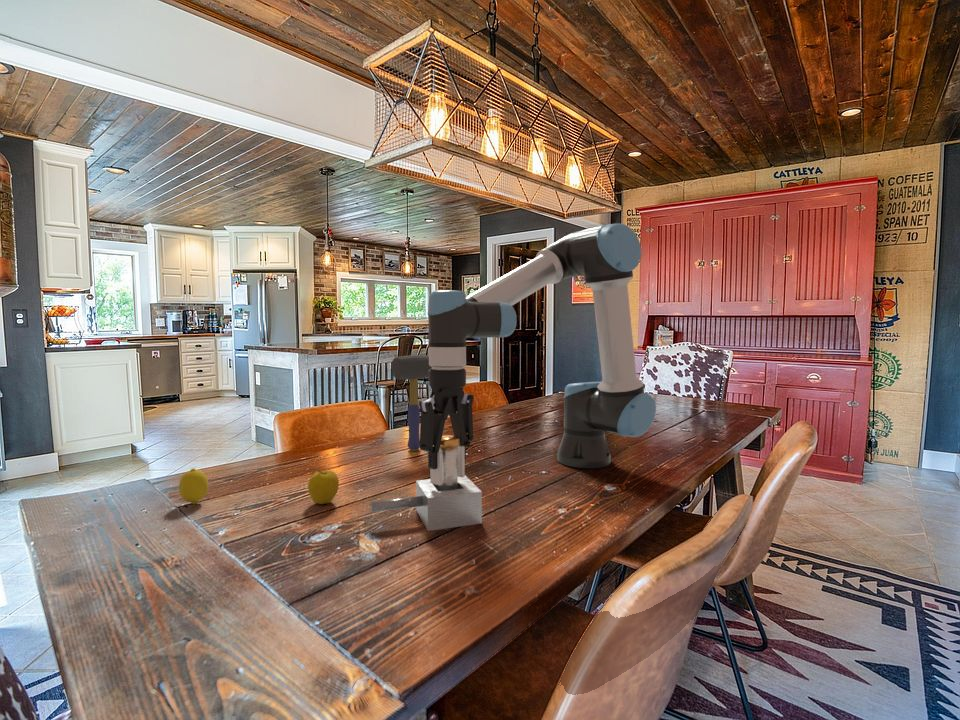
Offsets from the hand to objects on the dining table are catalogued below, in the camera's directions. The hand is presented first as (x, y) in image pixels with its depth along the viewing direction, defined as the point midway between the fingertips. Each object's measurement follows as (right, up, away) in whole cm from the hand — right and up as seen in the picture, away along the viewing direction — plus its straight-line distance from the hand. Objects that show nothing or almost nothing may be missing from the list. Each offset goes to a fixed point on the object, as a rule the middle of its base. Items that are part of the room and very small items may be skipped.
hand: (447, 479), depth 100 cm
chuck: (-5, -8, -1) cm, 9 cm away
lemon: (-56, -7, +7) cm, 57 cm away
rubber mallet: (-14, -4, +53) cm, 55 cm away
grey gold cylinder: (0, -5, +1) cm, 5 cm away
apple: (-28, -7, +8) cm, 30 cm away
